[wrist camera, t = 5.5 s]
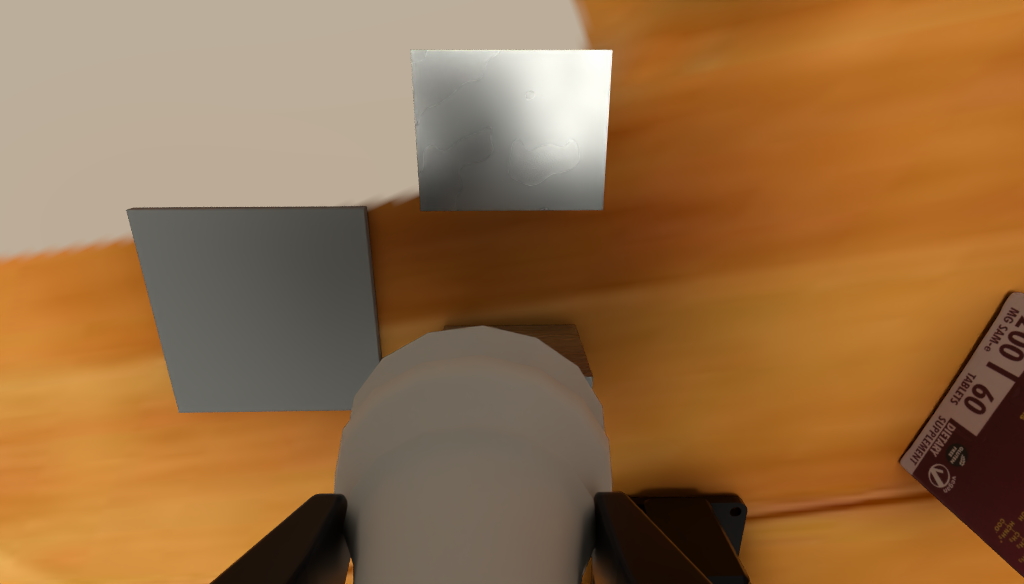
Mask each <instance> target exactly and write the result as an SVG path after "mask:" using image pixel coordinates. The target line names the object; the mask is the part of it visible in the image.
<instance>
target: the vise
mask: <svg viewBox="0 0 1024 584" xmlns="http://www.w3.org/2000/svg"><path fill="white" fill-rule="evenodd" d="M611 65H612V50H411V66H412V82H413V98H414V113H415V129H416V145H417V160H418V177H419V193H420V209H421V211H511V210H603V199H604V183H605V166H606V149H607V132H608V115H609V99H610V82H611ZM467 327H475V326H444V329H443V331H445V330H452V329H460V328H467ZM488 327H492V328H496V329H501V330H505V331H509V332H514V333H518V334H522V335H527V336H531V337H535V338H537V339H539V340H540V341H542V342H543V343H545V344H546V345H548V346H549V347H550V348H552V349H553V350H555V351H556V352H558V353H559V354H561V355H562V356H563V357H565V358H566V359H568V360H569V361H571V362H572V363H574V364H575V365H576V366H578V367H579V369H580V370H581V372H582V374H583V375H584V377H585V379H586V380H587V382H588V384H589V385H590V387H591V388H592V384H593V375H592V373H591V370H590V367H589V364H588V361H587V358H586V355H585V352H584V349H583V346H582V344H581V341H580V338H579V335H578V332H577V329H576V326H575V325H510V326H488Z"/></svg>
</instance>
